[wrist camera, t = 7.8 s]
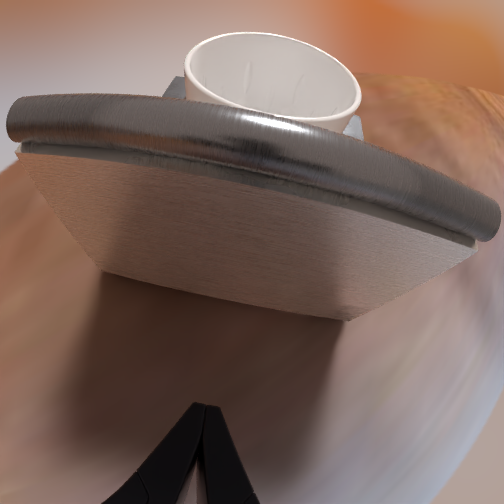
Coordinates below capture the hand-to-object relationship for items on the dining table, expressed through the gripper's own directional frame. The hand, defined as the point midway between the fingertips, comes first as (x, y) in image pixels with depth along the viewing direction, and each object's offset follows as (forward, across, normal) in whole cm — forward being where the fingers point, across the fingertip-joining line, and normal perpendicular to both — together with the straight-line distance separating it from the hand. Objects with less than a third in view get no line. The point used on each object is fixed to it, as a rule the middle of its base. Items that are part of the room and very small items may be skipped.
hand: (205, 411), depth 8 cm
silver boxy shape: (+13, 0, -4) cm, 14 cm away
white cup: (+14, 0, -5) cm, 15 cm away
